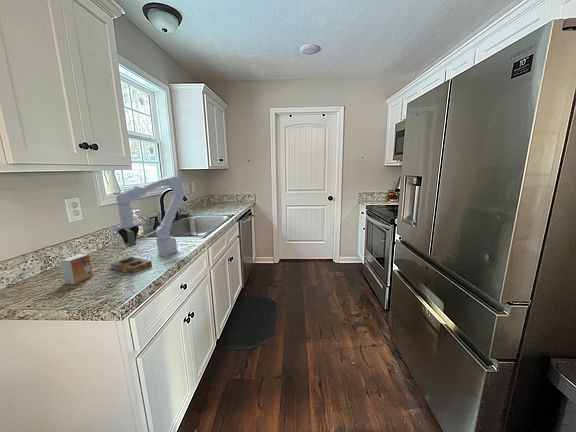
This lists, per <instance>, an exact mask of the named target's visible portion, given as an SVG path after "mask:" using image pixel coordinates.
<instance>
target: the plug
mask: <svg viewBox="0 0 576 432" xmlns="http://www.w3.org/2000/svg"><path fill="white" fill-rule="evenodd" d="M127 231H128V232H127V238H128V243H124V246H125V247H127V248H131V247H135V246H137V239H136V240H135V234H134V231H132V230H130V229H127Z"/></svg>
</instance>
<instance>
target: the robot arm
mask: <svg viewBox="0 0 576 432" xmlns="http://www.w3.org/2000/svg"><path fill="white" fill-rule="evenodd" d="M161 187H169V188H170V189H171V190H172V192H173V194H174V195H173V197H172V199H171V201H170V204H169V206H168V207H167V210H166V213H165V215H164V217H163V219H162V221H161V222H160V224H159V225H158V226H156V228H155V234H156V236H157V237H156V238H155V240H156V249H157V253H155V254H154V256H155V255H156V256H158V257H159V256H160V257H165V256H166V257H167V256H168V255H172V254H175V253H176V252H178V245H177V240H176V238H175V237H174V236H171V235H170V234H171V229H172V225H173V222H174V219H175V218H176V215H177V212H178V211H179V208H180V206H181V204H182V202H183V199H184V198H185V188H184V183H183V181H182V180H181V177H179V176H175V175H174V176H173V175H171V176H169V177H164V178H161V179H158V180H156V181H154V182H151V183H148V184H147V185H145V186H142V185H138V186H137V185H135V186H133V188H131V189H128V190H127V189H126V190H124V192H121V193H118V194H117V195H116V198H115V199H116V202H117V207H118V208H117V209H118V211H117V212H118V215H119V222H120V225H116V226H114V227H111V230H110V231H111V232H112V233H115V232H117V233H118V235H119V236H120V237H121V239H122V241H123V243H124V244H125V243H128V238H127V232H128V230H132V231H134V234H135V240H136V241H137V237H138V233H139V230H140V227H143V226H144V222H143V221H137V222H135V221H134V216H133V208H132V206H131V202H134V201H136V200H139V199H141V198H143V197H146V196H147V193H148V192H151V191H153V190H156V189H159V188H161Z"/></svg>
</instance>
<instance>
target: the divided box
mask: <svg viewBox="0 0 576 432" xmlns="http://www.w3.org/2000/svg"><path fill="white" fill-rule="evenodd" d="M151 268H153V264H152V260H147V259H143V258H135V257H134V256H130V257H127V258H124V259H120V260H117V261H114V262H111V263H110V269H112V270H115V271H119V272H122V273H125V274H129V275H130V276H132V275H135V274H138V273H140V272H143V271H146V270H148V269H151Z"/></svg>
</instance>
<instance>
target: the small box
mask: <svg viewBox="0 0 576 432" xmlns="http://www.w3.org/2000/svg"><path fill="white" fill-rule="evenodd" d="M59 262H60V263H59V264H60V266H61V267H60V268H61V272H62V277H63V282H64V284H69V285H76V284H78V283H81V282H83V281H85V280H88V279H90V278H92V277H94V276H93V269H92V263H91V260H90V254H86V253H85V254H83V253H79V254H78V253H77V254H76V255H73V256H70V257H66V258H64V259H60V260H59Z"/></svg>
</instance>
